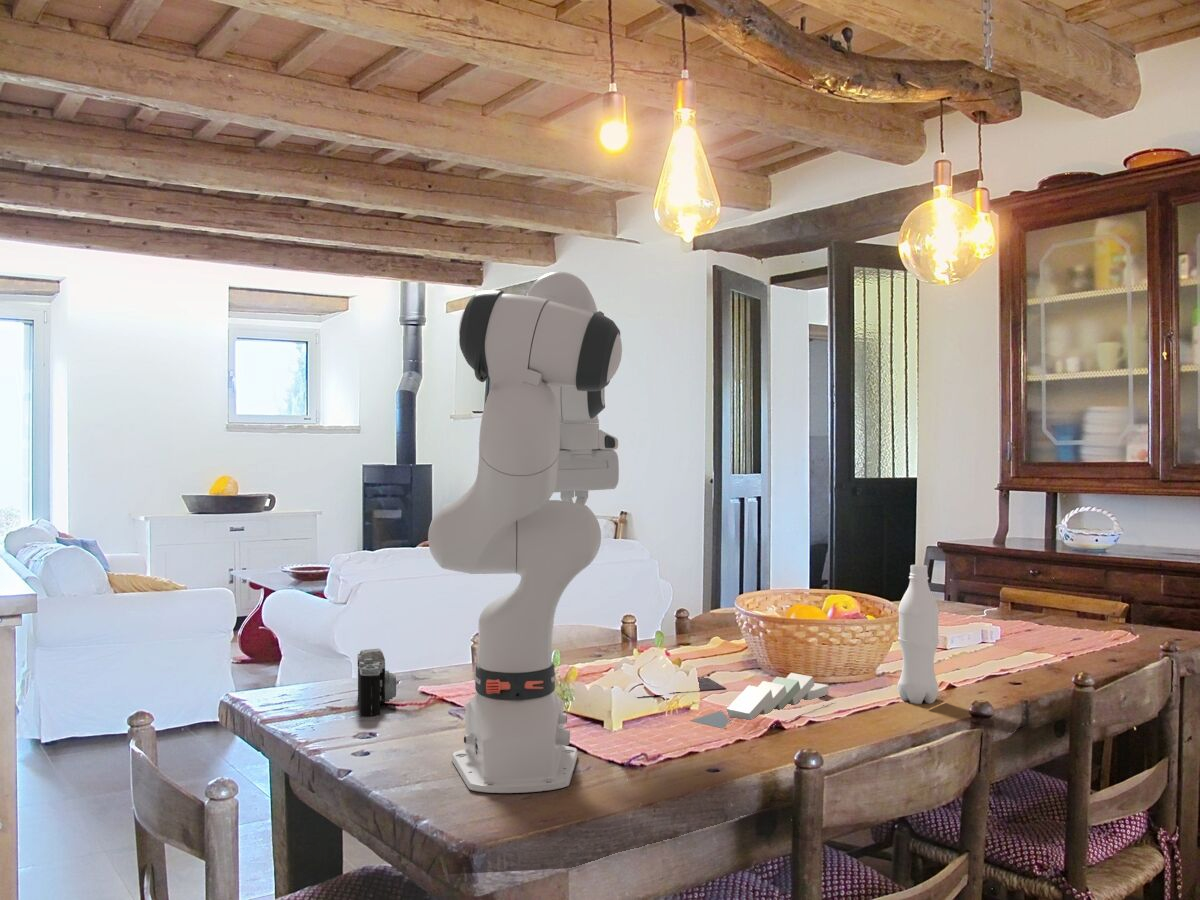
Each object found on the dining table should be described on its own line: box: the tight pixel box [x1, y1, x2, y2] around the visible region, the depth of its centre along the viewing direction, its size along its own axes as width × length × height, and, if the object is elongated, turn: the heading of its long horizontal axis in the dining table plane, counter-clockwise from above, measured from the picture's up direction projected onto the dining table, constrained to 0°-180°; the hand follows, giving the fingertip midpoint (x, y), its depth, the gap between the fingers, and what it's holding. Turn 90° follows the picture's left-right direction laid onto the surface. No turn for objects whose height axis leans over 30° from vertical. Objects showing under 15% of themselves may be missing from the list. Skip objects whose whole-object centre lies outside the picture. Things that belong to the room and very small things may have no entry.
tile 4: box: [785, 672, 815, 705], centre depth 190 cm, size 2×5×7 cm
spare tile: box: [771, 676, 800, 710], centre depth 186 cm, size 2×5×7 cm
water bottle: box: [897, 564, 940, 705], centre depth 191 cm, size 7×7×25 cm
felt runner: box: [689, 709, 777, 729], centre depth 183 cm, size 28×12×1 cm, turn 137°
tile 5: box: [802, 682, 829, 700], centre depth 193 cm, size 2×5×7 cm
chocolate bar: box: [697, 677, 727, 692], centre depth 200 cm, size 9×1×18 cm
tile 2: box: [757, 680, 787, 714], centre depth 183 cm, size 2×5×7 cm
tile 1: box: [726, 685, 773, 720], centre depth 180 cm, size 2×5×7 cm
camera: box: [357, 647, 397, 718], centre depth 187 cm, size 15×7×10 cm, turn 15°
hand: (574, 516), depth 188 cm, fingers closed
